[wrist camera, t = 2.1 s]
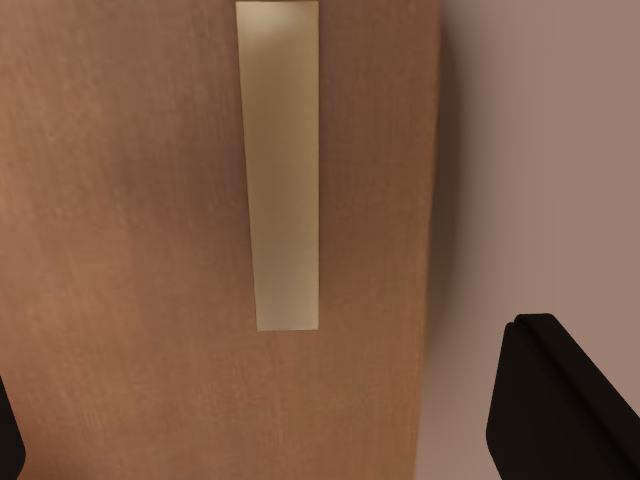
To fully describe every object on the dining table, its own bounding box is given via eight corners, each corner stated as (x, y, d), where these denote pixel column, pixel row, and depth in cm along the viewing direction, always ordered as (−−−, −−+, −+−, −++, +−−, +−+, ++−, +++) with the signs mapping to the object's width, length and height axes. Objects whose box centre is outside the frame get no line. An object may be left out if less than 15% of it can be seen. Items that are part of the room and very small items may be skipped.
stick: (315, -1, 17) (318, 0, 15) (316, 296, 23) (319, 330, 20) (242, -1, 17) (234, 0, 15) (260, 297, 22) (256, 331, 20)
